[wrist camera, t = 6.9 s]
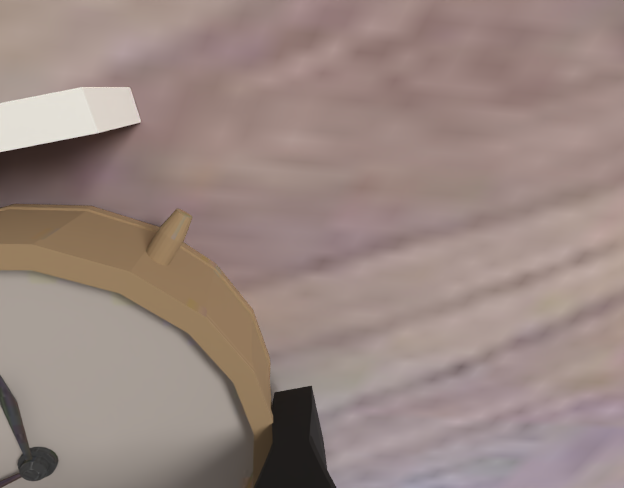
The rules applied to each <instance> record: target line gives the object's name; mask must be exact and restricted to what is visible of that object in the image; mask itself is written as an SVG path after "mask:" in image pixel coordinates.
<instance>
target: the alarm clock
mask: <svg viewBox="0 0 624 488" xmlns="http://www.w3.org/2000/svg"><path fill="white" fill-rule="evenodd" d="M191 220H192V216H191V215H190V214H188V213H187V212H185V211H183V210H181V209H176V210H175V211H174V212H173V214H172V215H171V216H170V217H169V218H168V219H167V220H166V221H165V222H164V224H163V225H162V226H161V227H158V226H155V225H151V224H148V223H145V222H142V221H138V220H135V219H132V218H129V217H126V216H122V215H119V214H116V213H113V212H109V211H106V210H103V209H100V208H96V207H93V206H80V205H40V204H12V205H9V206H5V207H1V208H0V488H254V485H255V483H256V481H257V479H258V476H259V474H260V472H261V470H262V467H263V465H264V463H265V461H266V458H267V456H268V453H269V451H270V448H271V445H272V442H273V440H272V423H273V414H272V402H271V390H270V357H269V354H268V351H267V348H266V345H265V343H264V340H263V337H262V334H261V331H260V328H259V326H258V323H257V320H256V317H255V314H254V311H253V309H252V308H251V307H250V305H249V304H248V303H247V302H246V300H245V299H244V298H243V297H242V295H241V294H240V293H239V292H238V291H237V289H236V288H235V287H234V286H233V284H232V283H231V282H230V281H229V279H228V278H227V277H226V276H225V274H224V273H223V272H222V271H221V269H220V268H219V267H218V266H217V264H215V263H214V262H212V261H211V260H209V259H208V258H206V257H205V256H203V255H202V254H200V253H199V252H197V251H196V250H194V249H193V248H191V247H190V246H188V245H187V244H185V243H184V242H183V241H184V239H185V236H186V233H187V231H188V228H189V225H190V223H191Z"/></svg>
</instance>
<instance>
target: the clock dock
mask: <svg viewBox="0 0 624 488" xmlns="http://www.w3.org/2000/svg"><path fill="white" fill-rule="evenodd" d="M140 122H141V120H140V117H139V114H138V111H137V108H136V105H135V101H134V98H133V95H132V92H131V89H130V87H81V88H75V89H70V90H65V91H60V92H55V93H50V94H45V95H39V96H34V97H29V98H24V99H19V100H14V101H9V102H3V103H0V152H3V151H9V150H14V149H19V148H24V147H29V146H34V145H39V144H44V143H50V142H55V141H60V140H65V139H70V138H75V137H80V136H85V135H91V134H96V133H100V132H104V131H108V130H112V129H116V128H120V127H124V126H128V125H132V124H136V123H140Z"/></svg>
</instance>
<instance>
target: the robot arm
mask: <svg viewBox="0 0 624 488" xmlns="http://www.w3.org/2000/svg"><path fill="white" fill-rule="evenodd" d="M272 414H273V423H272V440H273V442H272V445H271V448H270V451H269V453H268V456H267V458H266V461H265V463H264V465H263V467H262V470H261V472H260V474H259V476H258V479H257V481H256V483H255V485H254V488H336V486H335V484H334V482H333V480H332V479H331V477H330V475H329V473H328V471H327V465H326V457H325V449H324V442H323V436H322V432H321V427H320V422H319V418H318V413H317V409H316V404H315V399H314V395H313V390H312V386H308V387H302V388H297V389H291V390H286V391H280V392H275V393H274V399H273V405H272Z"/></svg>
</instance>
